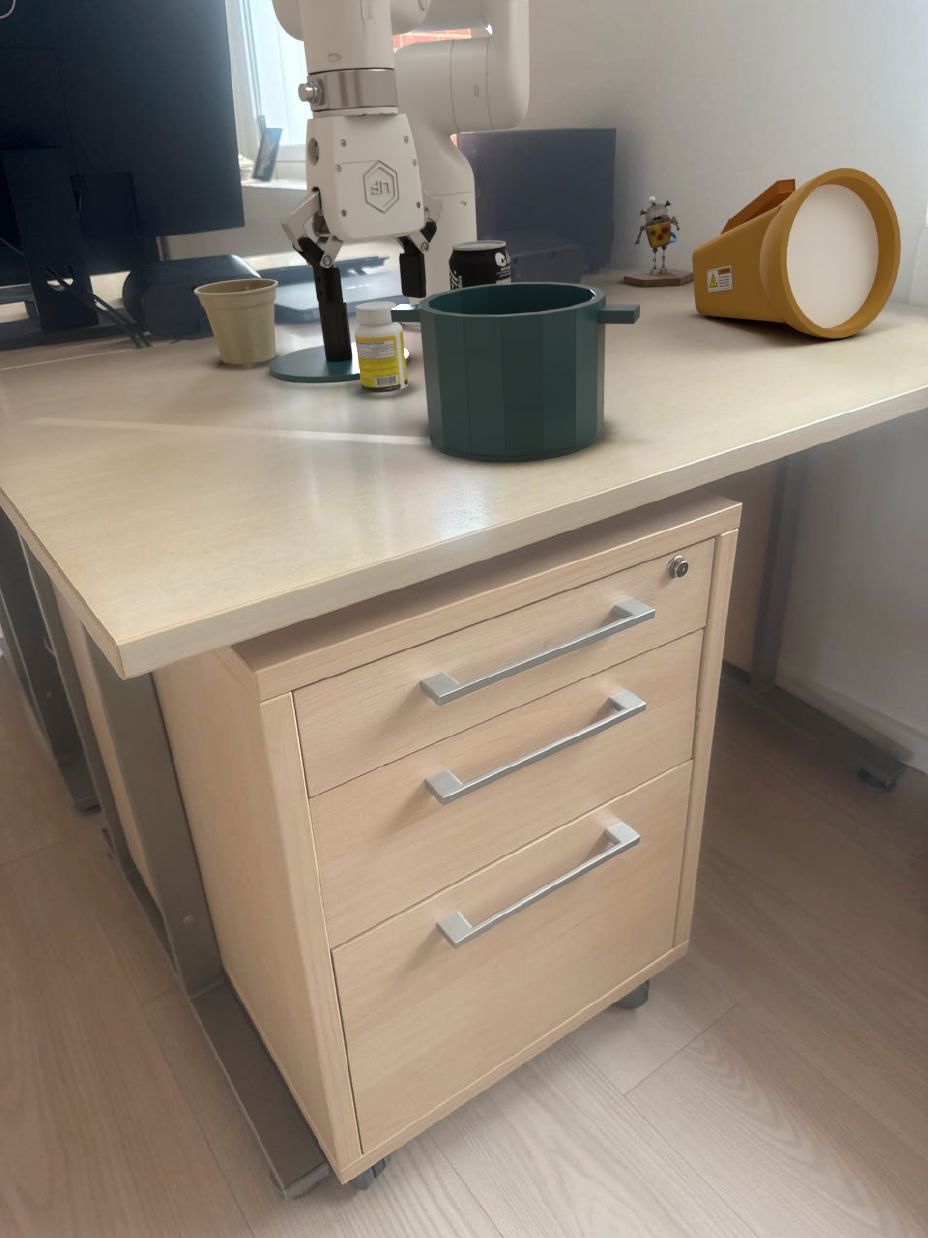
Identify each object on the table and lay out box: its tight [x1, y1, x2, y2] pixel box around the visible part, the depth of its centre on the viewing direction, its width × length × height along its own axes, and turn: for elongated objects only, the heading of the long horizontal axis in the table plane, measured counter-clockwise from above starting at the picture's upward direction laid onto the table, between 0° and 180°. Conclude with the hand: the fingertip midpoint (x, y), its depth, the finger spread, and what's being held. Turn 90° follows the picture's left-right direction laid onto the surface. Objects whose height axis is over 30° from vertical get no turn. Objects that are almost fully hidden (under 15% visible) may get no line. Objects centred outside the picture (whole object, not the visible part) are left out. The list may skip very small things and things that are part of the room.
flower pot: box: [193, 278, 279, 365], centre depth 102 cm, size 9×9×9 cm
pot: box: [391, 281, 641, 463], centre depth 72 cm, size 15×20×11 cm
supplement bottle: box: [354, 300, 409, 393], centre depth 87 cm, size 5×5×8 cm
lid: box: [268, 299, 410, 383], centre depth 97 cm, size 16×16×7 cm
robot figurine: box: [623, 195, 694, 288], centre depth 133 cm, size 11×9×12 cm
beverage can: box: [449, 239, 512, 290], centre depth 96 cm, size 7×7×12 cm
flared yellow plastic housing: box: [691, 167, 902, 339], centre depth 102 cm, size 20×17×18 cm
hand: (374, 304), depth 84 cm, fingers open, 9 cm apart
